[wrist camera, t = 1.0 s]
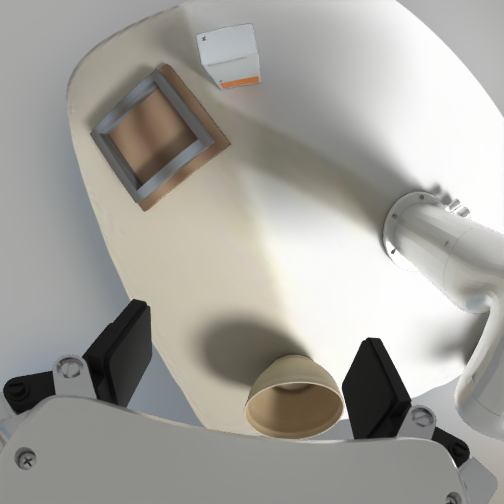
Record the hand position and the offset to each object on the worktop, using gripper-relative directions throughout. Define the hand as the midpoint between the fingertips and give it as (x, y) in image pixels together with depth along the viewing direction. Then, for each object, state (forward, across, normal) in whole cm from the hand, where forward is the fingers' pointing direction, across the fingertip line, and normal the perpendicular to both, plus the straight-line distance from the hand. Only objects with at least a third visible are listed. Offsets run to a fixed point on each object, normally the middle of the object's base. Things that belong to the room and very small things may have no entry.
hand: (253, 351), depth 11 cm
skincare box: (+30, +7, -20) cm, 37 cm away
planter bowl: (+30, -10, +28) cm, 42 cm away
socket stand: (+30, +17, -9) cm, 36 cm away
